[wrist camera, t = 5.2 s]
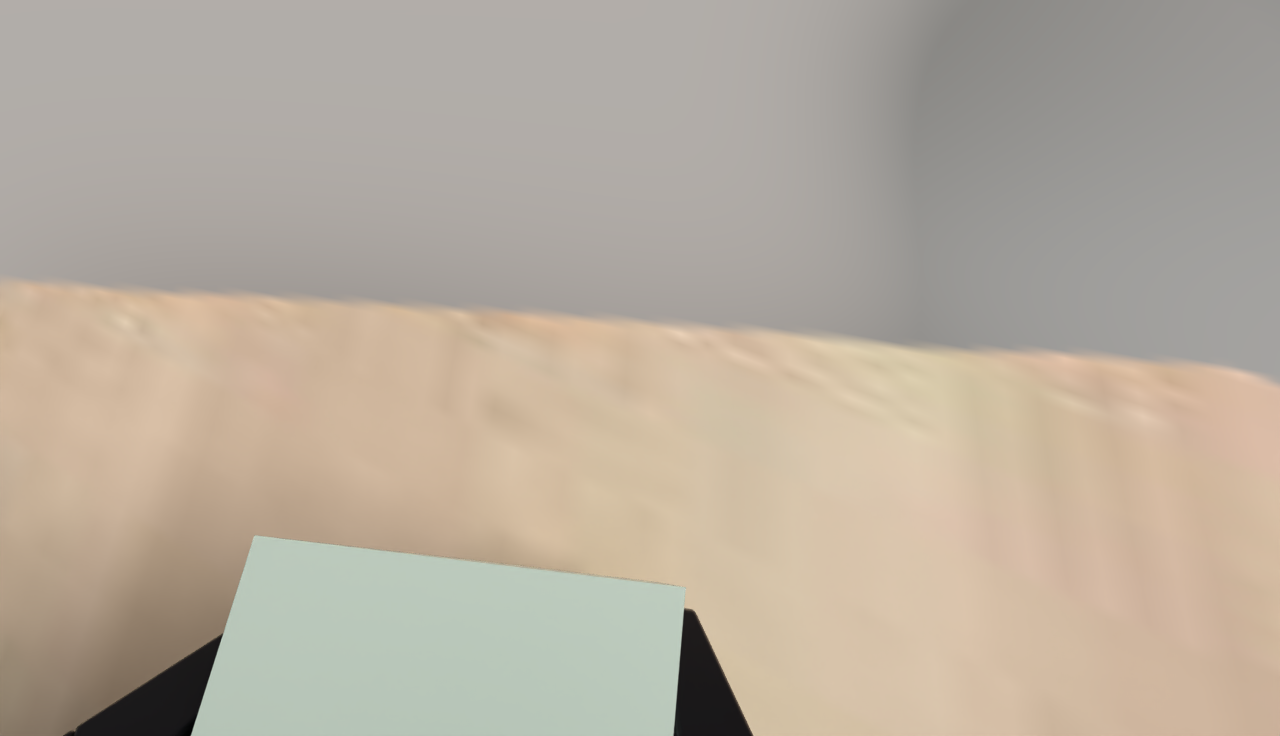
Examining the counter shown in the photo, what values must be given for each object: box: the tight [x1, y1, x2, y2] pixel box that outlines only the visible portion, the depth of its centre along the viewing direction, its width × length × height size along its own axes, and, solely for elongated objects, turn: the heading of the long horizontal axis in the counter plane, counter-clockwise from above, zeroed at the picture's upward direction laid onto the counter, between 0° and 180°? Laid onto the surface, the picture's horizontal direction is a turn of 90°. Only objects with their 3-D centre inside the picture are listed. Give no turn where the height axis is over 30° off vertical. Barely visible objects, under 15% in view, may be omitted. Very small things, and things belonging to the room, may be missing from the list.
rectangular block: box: [191, 535, 686, 736], centre depth 11 cm, size 4×5×10 cm
